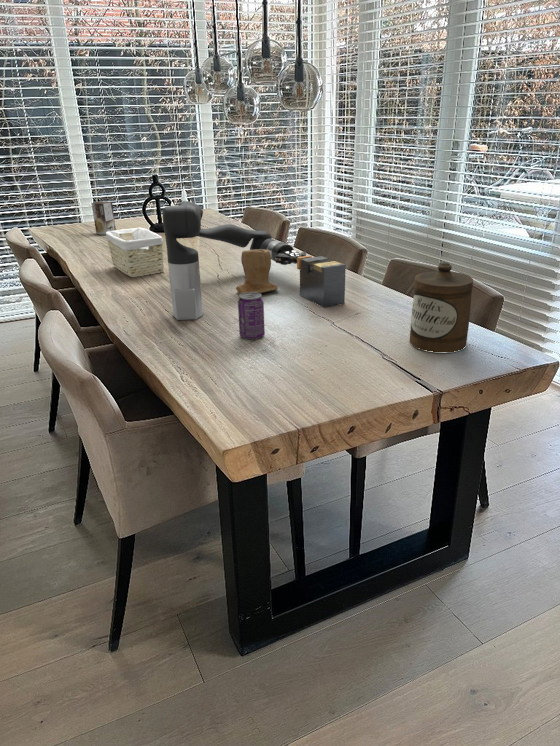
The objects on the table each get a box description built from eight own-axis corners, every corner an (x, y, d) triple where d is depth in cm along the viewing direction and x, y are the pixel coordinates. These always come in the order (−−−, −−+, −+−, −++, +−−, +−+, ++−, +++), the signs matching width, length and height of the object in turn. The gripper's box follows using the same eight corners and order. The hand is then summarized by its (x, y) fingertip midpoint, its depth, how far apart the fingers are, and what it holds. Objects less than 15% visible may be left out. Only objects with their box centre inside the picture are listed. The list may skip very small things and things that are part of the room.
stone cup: (264, 284, 209) (263, 243, 203) (282, 292, 200) (281, 249, 194) (227, 291, 202) (225, 249, 196) (244, 300, 193) (242, 256, 187)
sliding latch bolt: (297, 268, 197) (297, 257, 196) (309, 266, 199) (309, 255, 198) (323, 280, 183) (323, 268, 182) (336, 278, 185) (337, 266, 184)
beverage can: (251, 330, 167) (249, 290, 162) (269, 335, 162) (268, 294, 157) (234, 337, 162) (232, 296, 157) (253, 342, 158) (251, 300, 152)
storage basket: (168, 273, 227) (164, 235, 221) (128, 279, 219) (123, 241, 213) (146, 261, 246) (142, 226, 239) (109, 267, 238) (103, 231, 232)
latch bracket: (299, 295, 196) (299, 257, 191) (319, 291, 200) (320, 254, 194) (323, 307, 184) (324, 267, 178) (344, 303, 187) (345, 264, 182)
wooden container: (398, 344, 155) (404, 263, 146) (428, 329, 164) (436, 253, 155) (447, 358, 145) (457, 273, 136) (476, 343, 154) (487, 262, 145)
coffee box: (117, 233, 303) (112, 201, 296) (107, 235, 298) (103, 203, 291) (105, 231, 308) (100, 200, 301) (95, 233, 303) (90, 202, 296)
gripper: (263, 244, 207) (286, 253, 193) (295, 240, 213) (319, 249, 199) (264, 264, 210) (286, 275, 196) (295, 260, 216) (319, 270, 202)
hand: (303, 262), depth 198 cm, fingers closed
